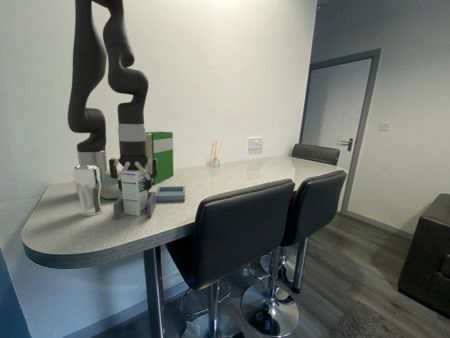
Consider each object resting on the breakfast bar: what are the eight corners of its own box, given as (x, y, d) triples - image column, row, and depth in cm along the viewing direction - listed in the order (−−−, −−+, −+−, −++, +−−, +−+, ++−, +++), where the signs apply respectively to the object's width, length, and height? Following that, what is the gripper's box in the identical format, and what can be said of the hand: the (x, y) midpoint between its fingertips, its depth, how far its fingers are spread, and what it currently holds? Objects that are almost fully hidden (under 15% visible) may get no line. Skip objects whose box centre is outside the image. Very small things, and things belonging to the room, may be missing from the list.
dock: (114, 219, 61) (113, 204, 60) (124, 205, 71) (123, 192, 70) (151, 217, 63) (150, 203, 62) (155, 204, 73) (155, 191, 72)
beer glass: (99, 205, 70) (95, 163, 66) (107, 212, 66) (103, 167, 62) (75, 212, 64) (69, 166, 61) (83, 219, 60) (76, 170, 57)
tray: (154, 202, 75) (154, 195, 74) (158, 192, 85) (158, 186, 85) (184, 201, 77) (184, 195, 76) (184, 191, 87) (184, 186, 87)
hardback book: (155, 184, 95) (153, 133, 90) (141, 183, 97) (138, 132, 92) (173, 175, 112) (172, 132, 107) (161, 174, 114) (160, 131, 108)
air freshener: (94, 197, 76) (91, 172, 74) (112, 191, 84) (111, 168, 82) (116, 202, 73) (114, 176, 71) (133, 195, 81) (132, 171, 78)
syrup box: (139, 216, 63) (137, 171, 60) (123, 214, 65) (120, 170, 61) (150, 209, 69) (148, 168, 66) (134, 207, 70) (132, 166, 67)
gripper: (101, 139, 56) (107, 195, 60) (155, 140, 59) (157, 193, 63) (111, 137, 64) (115, 187, 67) (158, 138, 66) (160, 186, 70)
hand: (135, 190), depth 65 cm, fingers closed on syrup box, 7 cm apart
